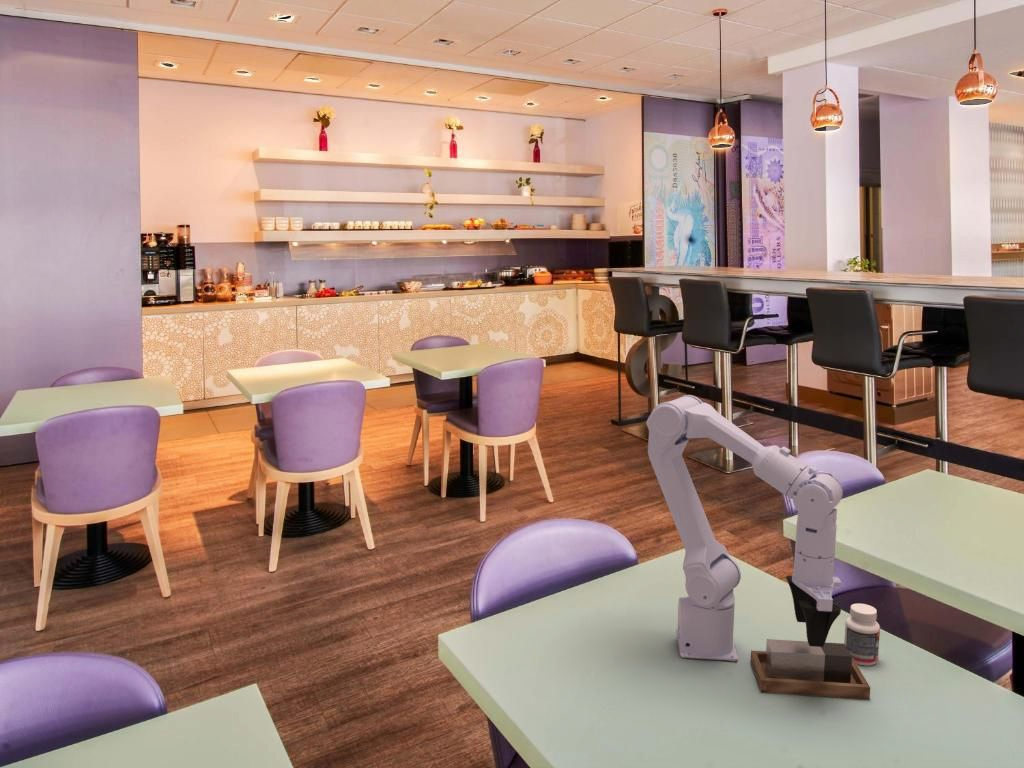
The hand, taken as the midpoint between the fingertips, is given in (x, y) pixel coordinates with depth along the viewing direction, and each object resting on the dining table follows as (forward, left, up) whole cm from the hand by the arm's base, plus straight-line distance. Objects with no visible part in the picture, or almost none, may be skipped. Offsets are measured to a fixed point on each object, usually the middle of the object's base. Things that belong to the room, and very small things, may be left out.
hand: (809, 633), depth 116 cm
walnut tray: (0, 0, -8) cm, 8 cm away
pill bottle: (+11, +8, -8) cm, 15 cm away
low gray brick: (0, 0, -8) cm, 8 cm away
